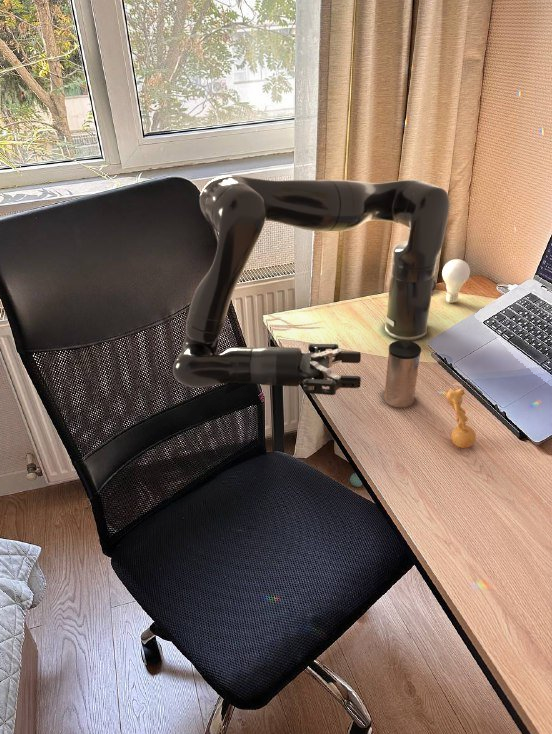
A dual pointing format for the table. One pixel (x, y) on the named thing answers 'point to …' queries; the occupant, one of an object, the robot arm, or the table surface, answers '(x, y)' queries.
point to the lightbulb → (455, 277)
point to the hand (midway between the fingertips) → (360, 369)
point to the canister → (402, 373)
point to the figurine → (462, 433)
